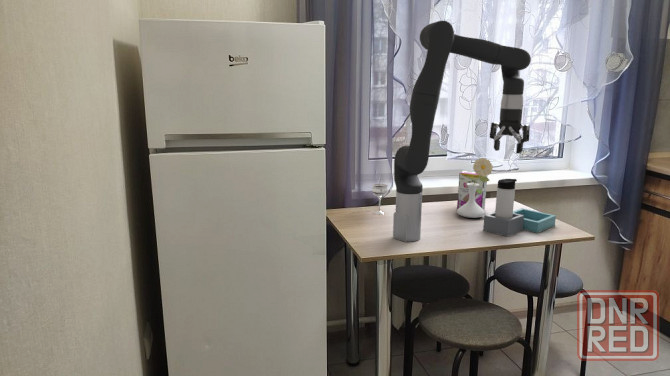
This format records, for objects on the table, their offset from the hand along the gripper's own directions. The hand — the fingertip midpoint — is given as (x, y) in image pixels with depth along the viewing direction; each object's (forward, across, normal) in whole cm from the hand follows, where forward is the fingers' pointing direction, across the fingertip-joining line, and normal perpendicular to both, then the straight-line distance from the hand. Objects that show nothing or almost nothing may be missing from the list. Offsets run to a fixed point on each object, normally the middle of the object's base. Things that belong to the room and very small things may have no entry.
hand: (507, 151), depth 172 cm
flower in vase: (+30, -17, +7) cm, 35 cm away
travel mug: (+30, +1, -1) cm, 30 cm away
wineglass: (+30, -46, -19) cm, 58 cm away
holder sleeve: (+30, +1, -1) cm, 30 cm away
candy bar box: (+30, -24, +16) cm, 41 cm away
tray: (+30, +4, +13) cm, 33 cm away
